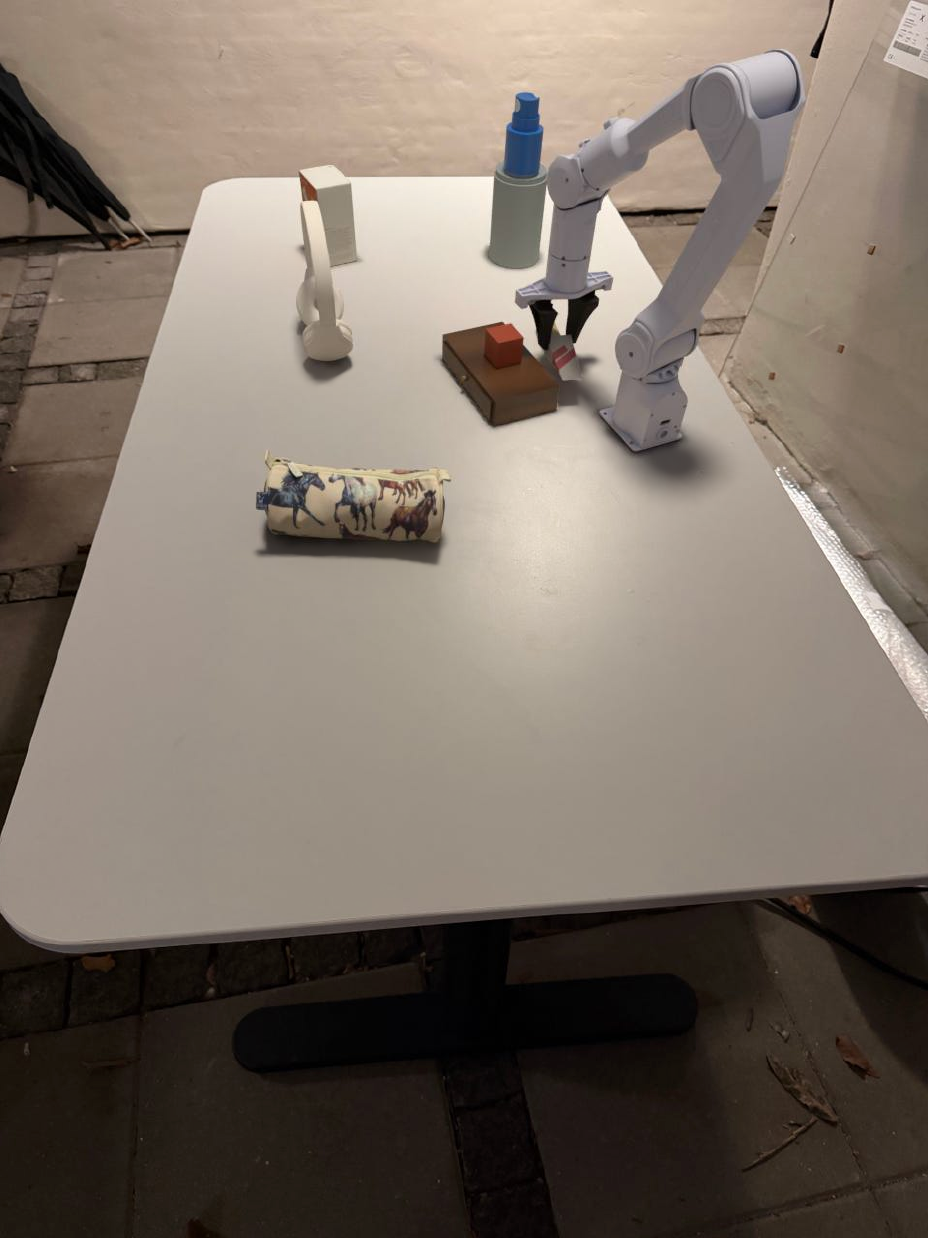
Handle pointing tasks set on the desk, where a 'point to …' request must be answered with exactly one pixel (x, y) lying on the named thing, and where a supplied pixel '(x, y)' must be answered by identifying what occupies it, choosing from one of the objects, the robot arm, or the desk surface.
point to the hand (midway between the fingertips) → (557, 343)
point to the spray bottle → (519, 189)
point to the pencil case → (352, 502)
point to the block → (503, 345)
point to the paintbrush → (563, 355)
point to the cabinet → (499, 378)
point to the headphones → (320, 294)
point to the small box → (332, 209)
